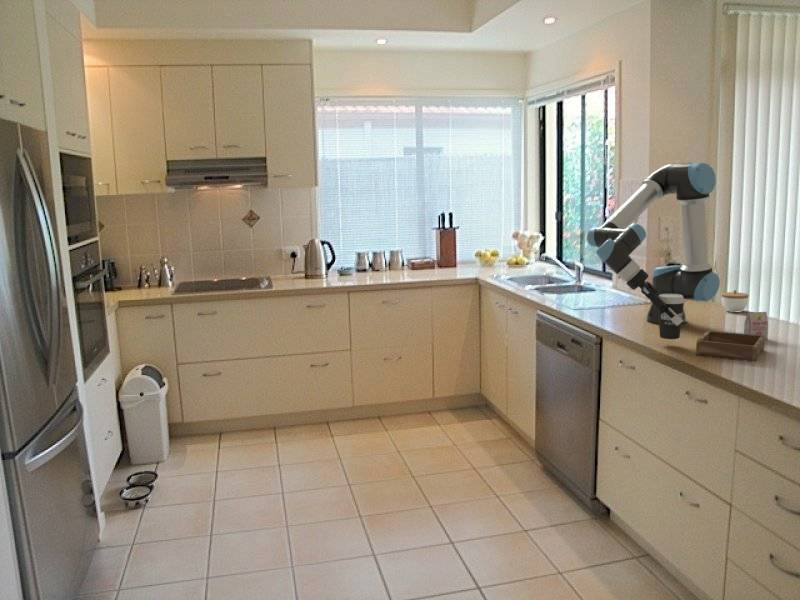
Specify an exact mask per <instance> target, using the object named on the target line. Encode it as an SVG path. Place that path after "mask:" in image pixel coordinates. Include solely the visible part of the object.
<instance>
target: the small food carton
mask: <svg viewBox="0 0 800 600" xmlns="http://www.w3.org/2000/svg"><path fill="white" fill-rule="evenodd" d="M743 325H744V327H743V334H750V335H761V336H765V339H764V341H767V340H768V335H769V320H768V312H767V311H752V312H751V311H749V312H747V313H746V317H745V320H744V323H743Z"/></svg>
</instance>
